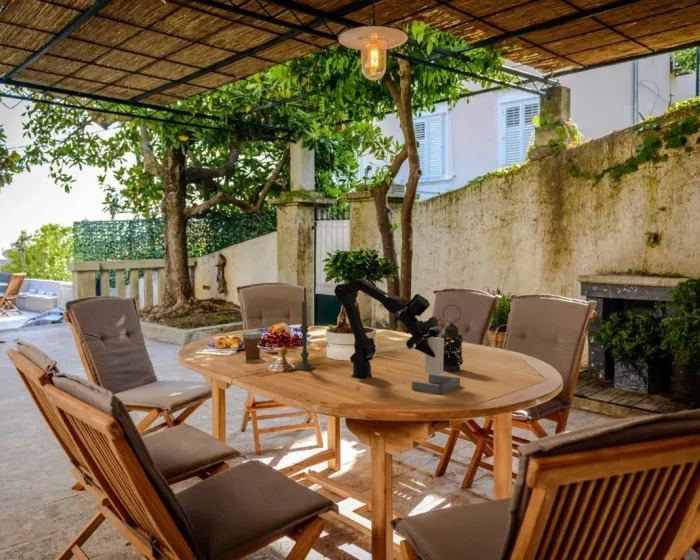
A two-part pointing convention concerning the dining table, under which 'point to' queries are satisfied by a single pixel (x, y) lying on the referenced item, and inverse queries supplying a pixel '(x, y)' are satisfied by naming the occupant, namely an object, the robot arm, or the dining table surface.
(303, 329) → the candlestick holder
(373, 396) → the dining table surface
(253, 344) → the disposable coffee cup
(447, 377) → the frame
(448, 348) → the lantern
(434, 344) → the post
